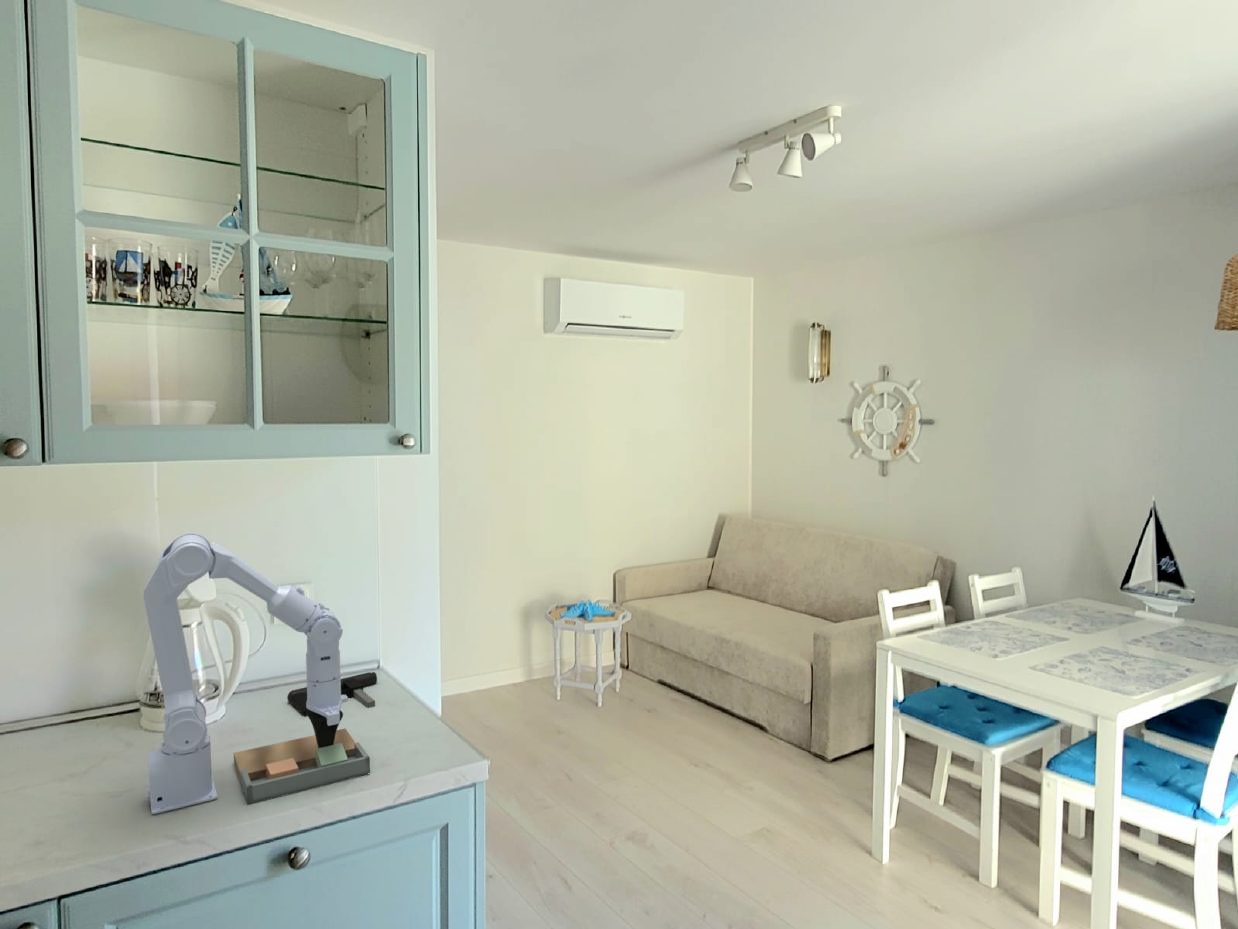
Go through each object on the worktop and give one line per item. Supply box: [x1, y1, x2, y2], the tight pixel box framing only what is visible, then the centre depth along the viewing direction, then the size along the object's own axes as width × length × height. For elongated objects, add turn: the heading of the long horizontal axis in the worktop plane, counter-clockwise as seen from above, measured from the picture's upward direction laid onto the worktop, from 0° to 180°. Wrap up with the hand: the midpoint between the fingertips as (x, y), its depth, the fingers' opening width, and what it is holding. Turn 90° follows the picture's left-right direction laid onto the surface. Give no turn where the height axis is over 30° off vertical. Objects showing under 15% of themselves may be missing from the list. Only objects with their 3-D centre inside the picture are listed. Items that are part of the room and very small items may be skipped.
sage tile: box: [316, 743, 348, 768], centre depth 141 cm, size 4×4×2 cm
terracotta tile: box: [266, 758, 299, 780], centre depth 137 cm, size 4×4×2 cm
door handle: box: [286, 671, 378, 717], centre depth 174 cm, size 3×20×16 cm
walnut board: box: [233, 727, 356, 784], centre depth 145 cm, size 20×10×2 cm, turn 123°
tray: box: [240, 742, 371, 805], centre depth 138 cm, size 20×7×3 cm, turn 123°
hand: (325, 749), depth 143 cm, fingers closed
